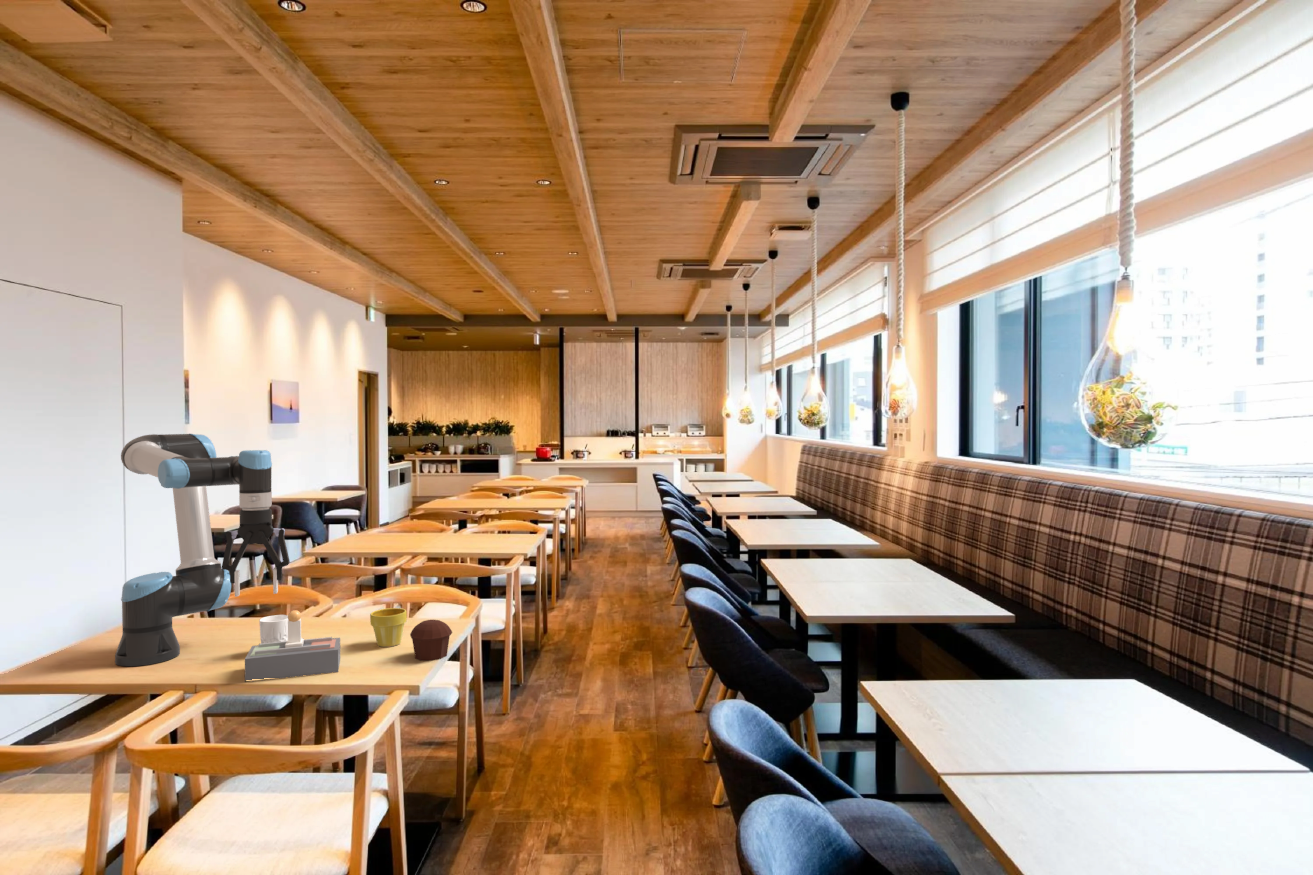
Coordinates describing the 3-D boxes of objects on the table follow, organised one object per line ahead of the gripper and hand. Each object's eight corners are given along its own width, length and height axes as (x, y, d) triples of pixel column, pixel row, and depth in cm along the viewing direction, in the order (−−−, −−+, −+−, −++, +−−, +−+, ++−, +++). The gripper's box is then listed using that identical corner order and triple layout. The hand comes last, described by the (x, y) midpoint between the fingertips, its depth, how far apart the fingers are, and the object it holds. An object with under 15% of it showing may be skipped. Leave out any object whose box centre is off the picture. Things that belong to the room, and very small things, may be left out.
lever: (287, 644, 200) (287, 608, 200) (303, 642, 201) (303, 607, 201) (285, 649, 195) (285, 613, 195) (302, 647, 197) (301, 611, 196)
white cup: (295, 648, 217) (295, 615, 217) (279, 657, 209) (279, 622, 209) (270, 648, 218) (270, 614, 218) (253, 656, 210) (253, 621, 210)
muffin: (401, 659, 207) (401, 624, 207) (426, 648, 218) (426, 614, 217) (436, 664, 203) (436, 628, 203) (460, 652, 214) (460, 618, 213)
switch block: (252, 667, 200) (252, 642, 200) (340, 658, 208) (340, 633, 208) (244, 682, 189) (244, 655, 189) (338, 671, 197) (337, 645, 197)
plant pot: (364, 644, 222) (363, 611, 221) (396, 636, 229) (396, 605, 229) (380, 651, 215) (380, 618, 214) (413, 643, 222) (413, 611, 222)
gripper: (206, 511, 187) (207, 600, 188) (298, 508, 195) (299, 593, 195) (212, 508, 194) (213, 594, 195) (301, 505, 202) (302, 587, 202)
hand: (256, 593), depth 195 cm, fingers open, 8 cm apart
